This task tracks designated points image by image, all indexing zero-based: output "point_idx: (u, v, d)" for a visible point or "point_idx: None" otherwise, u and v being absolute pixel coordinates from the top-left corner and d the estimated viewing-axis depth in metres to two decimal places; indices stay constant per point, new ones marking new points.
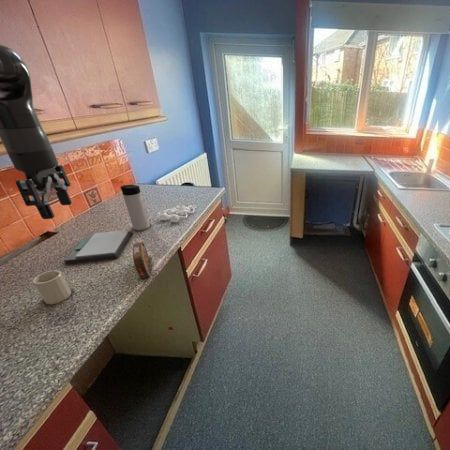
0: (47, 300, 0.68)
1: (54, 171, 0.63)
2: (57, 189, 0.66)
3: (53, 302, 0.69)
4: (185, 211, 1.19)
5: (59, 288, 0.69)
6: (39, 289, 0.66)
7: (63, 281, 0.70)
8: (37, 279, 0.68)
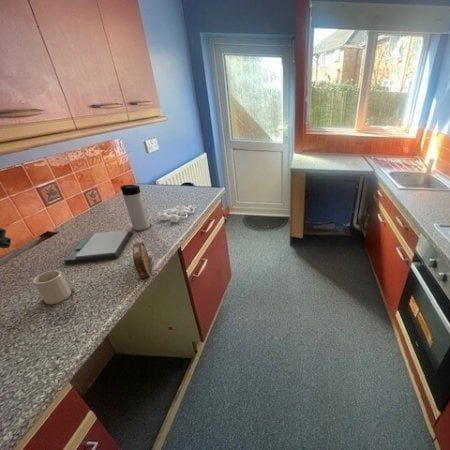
0: (47, 300, 0.68)
1: None
2: None
3: (53, 302, 0.69)
4: (185, 211, 1.19)
5: (59, 288, 0.69)
6: (39, 289, 0.66)
7: (63, 281, 0.70)
8: (37, 279, 0.68)
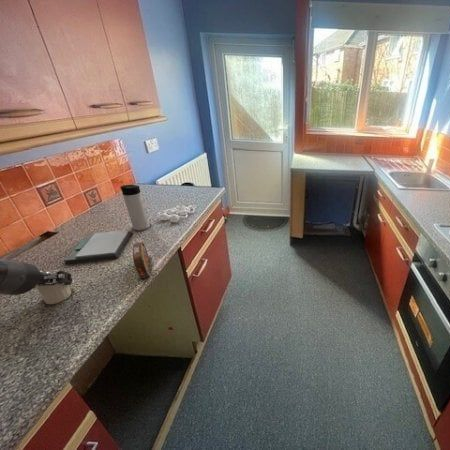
0: (47, 300, 0.68)
1: (42, 282, 0.62)
2: None
3: (53, 302, 0.69)
4: (185, 211, 1.19)
5: (59, 288, 0.69)
6: (39, 289, 0.66)
7: None
8: None
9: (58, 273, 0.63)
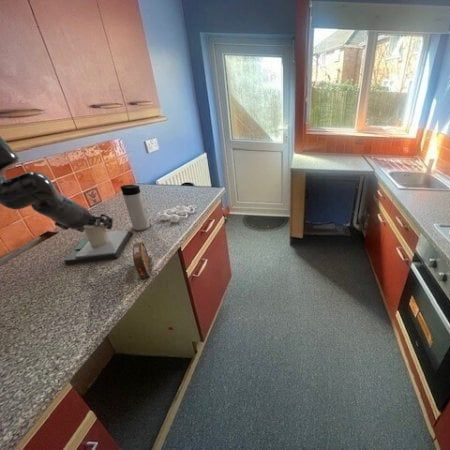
0: (93, 242, 0.89)
1: (91, 222, 0.83)
2: None
3: (97, 244, 0.90)
4: (185, 211, 1.19)
5: (102, 233, 0.90)
6: (88, 232, 0.88)
7: (104, 228, 0.91)
8: None
9: (101, 215, 0.83)
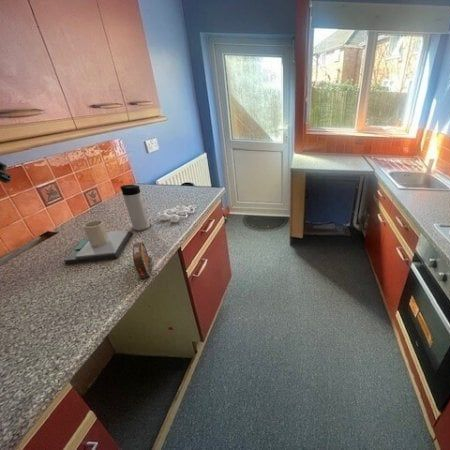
0: (93, 242, 0.89)
1: None
2: None
3: (97, 244, 0.90)
4: (185, 211, 1.19)
5: (102, 233, 0.90)
6: (88, 232, 0.88)
7: (104, 228, 0.91)
8: (85, 225, 0.89)
9: None
